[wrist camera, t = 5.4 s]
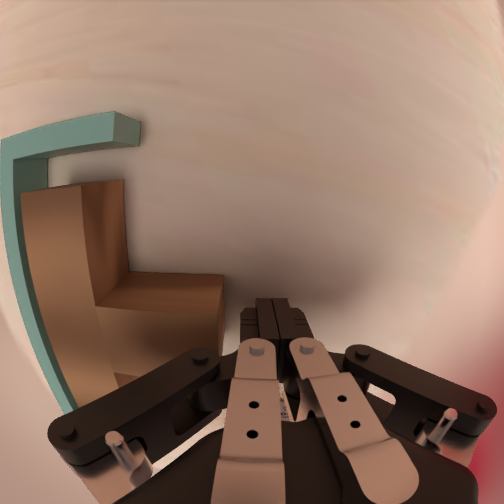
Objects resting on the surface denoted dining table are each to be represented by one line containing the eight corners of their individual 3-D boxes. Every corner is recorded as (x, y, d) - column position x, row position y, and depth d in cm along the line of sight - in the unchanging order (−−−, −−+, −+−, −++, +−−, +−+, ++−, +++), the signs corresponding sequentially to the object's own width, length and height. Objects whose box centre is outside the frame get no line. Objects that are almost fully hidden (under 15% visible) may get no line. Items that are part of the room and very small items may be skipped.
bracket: (34, 140, 11) (1, 139, 8) (140, 122, 11) (114, 111, 8) (80, 391, 16) (66, 417, 13) (166, 408, 16) (157, 440, 14)
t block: (68, 184, 12) (20, 193, 8) (224, 176, 12) (216, 179, 8) (105, 379, 16) (85, 418, 12) (225, 392, 16) (223, 441, 12)
